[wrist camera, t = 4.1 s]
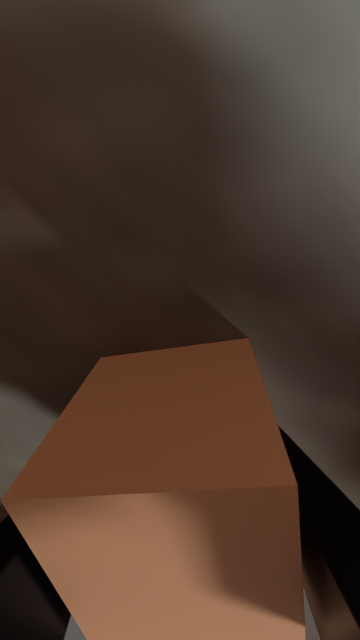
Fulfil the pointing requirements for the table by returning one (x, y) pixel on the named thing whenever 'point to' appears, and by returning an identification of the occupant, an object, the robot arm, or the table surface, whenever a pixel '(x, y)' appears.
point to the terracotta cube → (168, 501)
